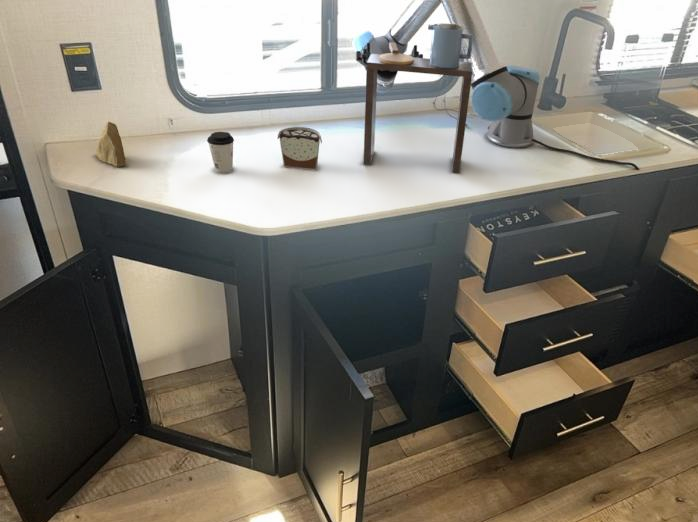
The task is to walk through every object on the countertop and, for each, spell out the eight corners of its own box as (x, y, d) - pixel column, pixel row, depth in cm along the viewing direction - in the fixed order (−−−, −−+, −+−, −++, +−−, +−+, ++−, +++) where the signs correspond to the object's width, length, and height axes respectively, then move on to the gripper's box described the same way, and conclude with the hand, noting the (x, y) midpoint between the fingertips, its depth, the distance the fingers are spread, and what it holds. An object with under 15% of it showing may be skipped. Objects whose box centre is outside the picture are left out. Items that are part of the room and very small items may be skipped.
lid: (407, 48, 175) (408, 42, 174) (415, 65, 160) (415, 59, 159) (376, 47, 174) (376, 41, 173) (380, 63, 158) (381, 57, 158)
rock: (134, 159, 162) (135, 141, 169) (108, 136, 156) (110, 118, 163) (105, 182, 164) (107, 163, 171) (78, 160, 158) (81, 142, 165)
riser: (459, 160, 183) (471, 62, 166) (459, 173, 174) (472, 71, 158) (367, 151, 183) (371, 53, 167) (363, 164, 175) (366, 62, 159)
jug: (469, 63, 166) (474, 25, 160) (469, 70, 159) (474, 31, 154) (425, 59, 166) (429, 21, 160) (424, 66, 159) (427, 27, 154)
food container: (326, 162, 174) (325, 128, 169) (321, 170, 169) (321, 136, 164) (284, 158, 175) (282, 124, 169) (278, 166, 170) (276, 131, 164)
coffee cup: (214, 176, 161) (209, 140, 156) (208, 167, 166) (203, 131, 161) (239, 173, 164) (236, 137, 159) (233, 163, 169) (229, 129, 164)
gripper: (423, 83, 195) (434, 64, 174) (346, 80, 192) (348, 60, 171) (424, 60, 195) (435, 37, 174) (346, 56, 192) (348, 33, 171)
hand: (392, 48), depth 172 cm, fingers open, 13 cm apart
